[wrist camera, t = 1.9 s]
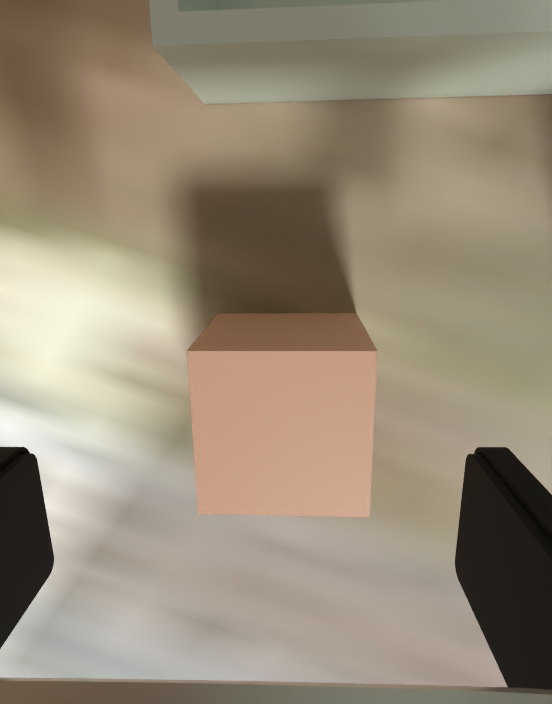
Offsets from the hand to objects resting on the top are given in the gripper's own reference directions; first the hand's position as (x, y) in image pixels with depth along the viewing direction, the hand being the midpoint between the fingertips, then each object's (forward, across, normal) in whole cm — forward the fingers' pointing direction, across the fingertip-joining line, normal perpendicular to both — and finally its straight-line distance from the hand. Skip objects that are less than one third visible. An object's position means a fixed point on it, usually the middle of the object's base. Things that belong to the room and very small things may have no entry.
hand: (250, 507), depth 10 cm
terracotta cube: (+8, -1, 0) cm, 8 cm away
